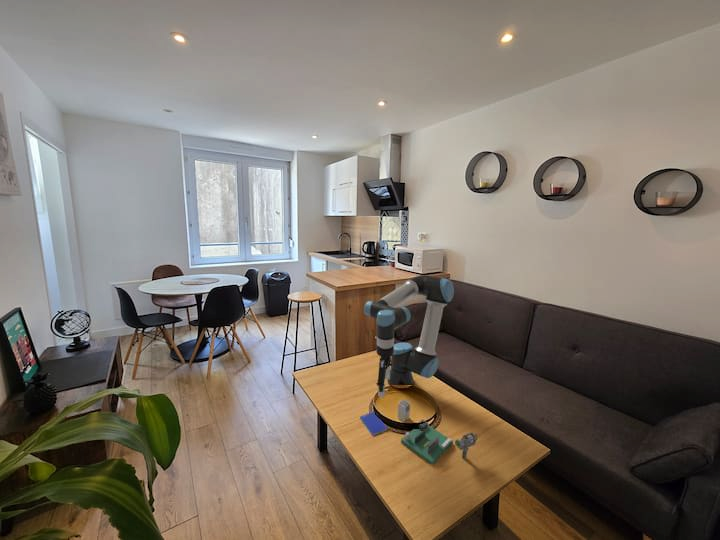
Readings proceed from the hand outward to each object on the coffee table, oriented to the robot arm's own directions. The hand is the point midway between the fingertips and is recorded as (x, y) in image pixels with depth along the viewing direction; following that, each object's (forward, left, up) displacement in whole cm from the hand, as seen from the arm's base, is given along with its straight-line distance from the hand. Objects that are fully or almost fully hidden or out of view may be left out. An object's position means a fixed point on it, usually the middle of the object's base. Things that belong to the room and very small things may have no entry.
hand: (384, 387), depth 137 cm
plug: (-12, +3, -21) cm, 24 cm away
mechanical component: (-12, +35, -21) cm, 42 cm away
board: (-7, +20, -21) cm, 30 cm away
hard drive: (+2, -4, -22) cm, 22 cm away
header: (-5, +21, -19) cm, 29 cm away
